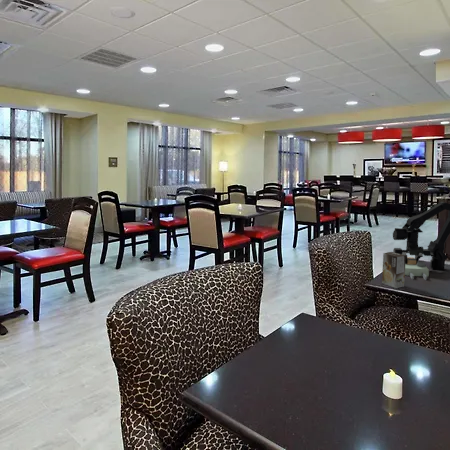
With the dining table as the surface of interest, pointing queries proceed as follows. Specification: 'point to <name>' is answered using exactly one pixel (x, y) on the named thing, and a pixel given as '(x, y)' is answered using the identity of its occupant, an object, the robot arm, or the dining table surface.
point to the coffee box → (393, 269)
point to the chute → (411, 260)
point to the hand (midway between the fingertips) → (410, 266)
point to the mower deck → (417, 270)
